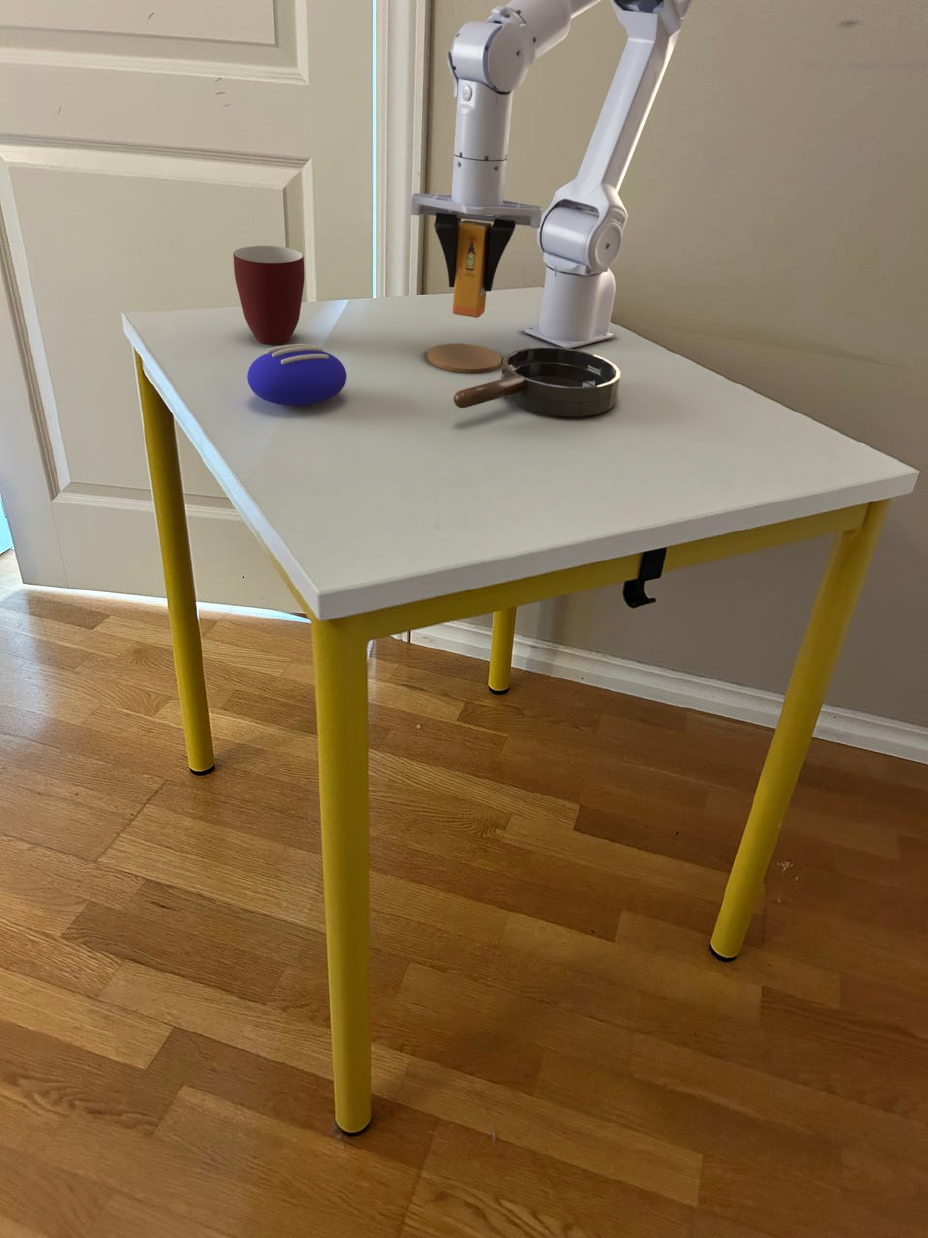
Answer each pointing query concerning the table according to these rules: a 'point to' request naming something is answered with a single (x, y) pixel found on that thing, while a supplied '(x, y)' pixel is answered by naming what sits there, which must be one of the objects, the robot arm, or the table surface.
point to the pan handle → (489, 391)
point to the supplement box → (471, 268)
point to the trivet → (464, 358)
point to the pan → (562, 381)
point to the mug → (270, 290)
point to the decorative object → (296, 375)
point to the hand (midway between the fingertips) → (470, 286)
